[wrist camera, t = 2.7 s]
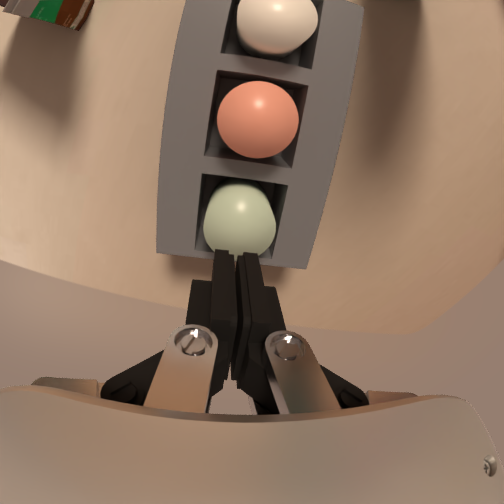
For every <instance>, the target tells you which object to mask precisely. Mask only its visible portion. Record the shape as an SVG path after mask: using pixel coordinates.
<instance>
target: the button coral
mask: <svg viewBox="0 0 504 504" xmlns="http://www.w3.org/2000/svg"><path fill="white" fill-rule="evenodd" d="M298 122H299V118H298V111H297V108H296V105H295V103H294V101H293V100H292V98H291V97H290V96H289V94H288V93H287V92H286V91H284V90H283V89H282V88H280V87H278V86H277V85H274V84H272V83H268V82H263V81H252V82H247V83H244V84H241V85H239V86H237V87H235V88H234V89H233V90H231V91H230V92H229V93H228V94H227V95H226V96H225V98H224V99H223V100H222V102H221V104H220V107H219V110H218V114H217V125H218V130H219V133H220V135H221V137H222V139H223V140H224V142H225V143H226V144H227V145H228V146H229V147H230V148H231V149H232V150H233V151H235V152H236V153H238V154H240V155H243V156H246V157H250V158H266V157H270V156H273V155H275V154H278V153H279V152H281V151H282V150H284V149H285V148H286V147H287V146H288V145H289V144H290V143H291V141H292V140H293V138H294V137H295V134H296V132H297V128H298Z"/></svg>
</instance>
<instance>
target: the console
mask: <svg viewBox="0 0 504 504" xmlns="http://www.w3.org/2000/svg"><path fill="white" fill-rule="evenodd" d="M240 1H241V0H186V2H185V6H184V10H183V14H182V18H181V22H180V27H179V31H178V35H177V40H176V45H175V50H174V55H173V61H172V66H171V72H170V78H169V84H168V91H167V97H166V105H165V113H164V121H163V130H162V139H161V150H160V163H159V177H158V197H157V237H156V252H157V253H162V254H170V255H179V256H188V257H196V258H205V259H214V254H215V252H214V251H213V250H212V249H211V248H210V246H209V245H208V243H207V242H206V239H205V236H204V231H203V224H204V219H205V215H206V211H207V207H208V202H209V198H210V195H211V193H212V191H213V189H214V188H215V187H216V186H217V185H218V184H219V183H220V182H221V181H223V180H225V179H227V178H230V177H237V178H244V179H252V180H254V181H256V182H257V183H258V184H259V185H260V186H261V187H262V188H263V190H264V191H265V193H266V196H267V198H268V201H269V204H270V207H271V210H272V212H273V215H274V218H275V222H276V232H275V236H274V239H273V241H272V243H271V245H270V246H269V247H268V248H267V249H266V250H265V251H264V252H263V253H262V254H260V255H259V256H258V258H259V262H260V265H269V266H279V267H288V268H298V269H306V268H307V265H308V261H309V258H310V255H311V251H312V248H313V245H314V241H315V238H316V234H317V231H318V227H319V224H320V220H321V216H322V213H323V209H324V205H325V202H326V198H327V194H328V190H329V186H330V183H331V179H332V175H333V171H334V167H335V162H336V158H337V154H338V150H339V146H340V141H341V137H342V132H343V128H344V123H345V118H346V114H347V109H348V104H349V99H350V94H351V89H352V83H353V78H354V73H355V67H356V61H357V55H358V49H359V43H360V36H361V29H362V22H363V14H364V7H362V6H359V5H357V4H354V3H352V2H349V1H346V0H311V2H312V3H313V4H314V6H315V8H316V11H317V15H318V23H317V27H316V29H315V31H314V33H313V34H312V35H311V36H310V37H309V38H308V39H307V40H306V41H305V42H303V43H302V44H301V45H300V46H299V47H298V48H297V49H295V50H294V51H293V52H292V53H291V54H289V55H288V56H286V57H284V58H281V59H276V60H266V59H260V58H257V57H254V56H252V55H250V54H249V53H247V52H246V51H245V50H244V49H243V48H242V47H241V45H240V44H239V42H238V39H237V35H236V28H237V10H238V5H239V3H240ZM252 81H263V82H268V83H272V84H274V85H277V86H278V87H280V88H282V89H283V90H284V91H286V92H287V93H288V94H289V96H290V97H291V98H292V100H293V101H294V103H295V105H296V108H297V111H298V118H299V122H298V128H297V132H296V134H295V137H294V138H293V140H292V141H291V143H290V144H289V145H288V146H287V147H286V148H285V149H284V150H282V151H281V152H279V153H278V154H275V155H273V156H270V157H266V158H250V157H246V156H243V155H240V154H238V153H236V152H235V151H233V150H232V149H231V148H230V147H229V146H228V145H227V144H226V143H225V142H224V140H223V139H222V137H221V135H220V133H219V130H218V125H217V114H218V110H219V107H220V104H221V102H222V100H223V99H224V98H225V96H226V95H227V94H228V93H229V92H230V91H231V90H233V89H234V88H235V87H237V86H239V85H241V84H244V83H247V82H252ZM234 262H237V260H234Z"/></svg>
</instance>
